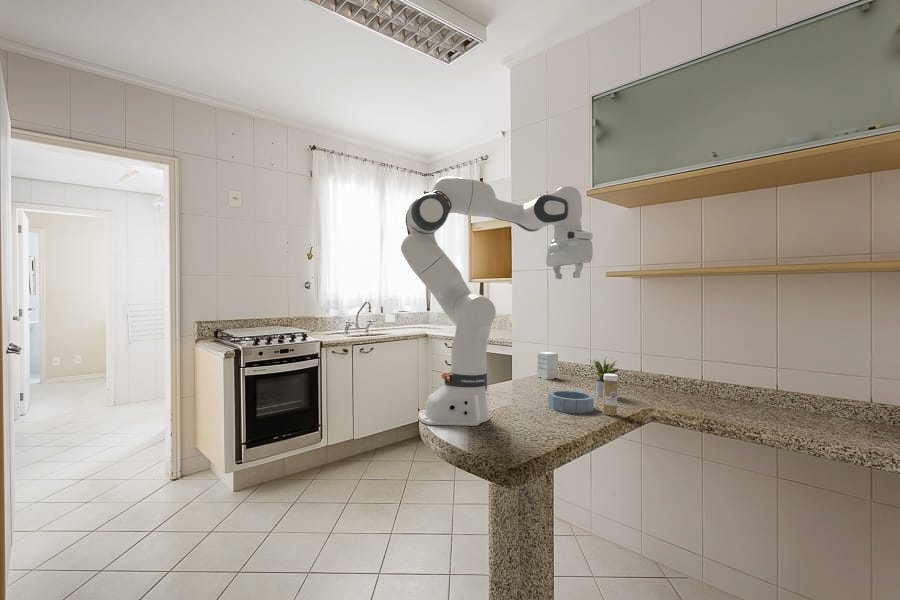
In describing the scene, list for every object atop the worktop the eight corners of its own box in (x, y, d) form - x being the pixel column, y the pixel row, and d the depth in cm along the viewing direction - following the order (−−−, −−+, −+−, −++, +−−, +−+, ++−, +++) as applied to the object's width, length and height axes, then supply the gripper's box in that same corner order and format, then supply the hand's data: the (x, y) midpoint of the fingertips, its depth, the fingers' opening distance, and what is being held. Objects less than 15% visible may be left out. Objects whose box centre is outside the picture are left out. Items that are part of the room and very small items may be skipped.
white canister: (547, 376, 213) (548, 351, 214) (558, 378, 207) (558, 353, 207) (536, 377, 210) (537, 352, 210) (546, 379, 203) (547, 353, 203)
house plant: (583, 398, 164) (584, 356, 165) (581, 391, 178) (582, 352, 178) (622, 401, 161) (623, 358, 161) (617, 394, 174) (618, 354, 174)
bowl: (561, 413, 140) (561, 400, 140) (542, 403, 155) (542, 390, 155) (601, 412, 143) (601, 399, 143) (579, 402, 158) (579, 390, 158)
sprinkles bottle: (609, 416, 138) (610, 375, 138) (599, 413, 142) (600, 373, 142) (620, 415, 140) (621, 375, 140) (610, 412, 144) (611, 372, 144)
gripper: (541, 240, 148) (541, 279, 148) (579, 231, 129) (579, 276, 129) (556, 241, 150) (556, 280, 150) (596, 233, 131) (595, 277, 131)
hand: (567, 278), depth 139 cm, fingers open, 8 cm apart
